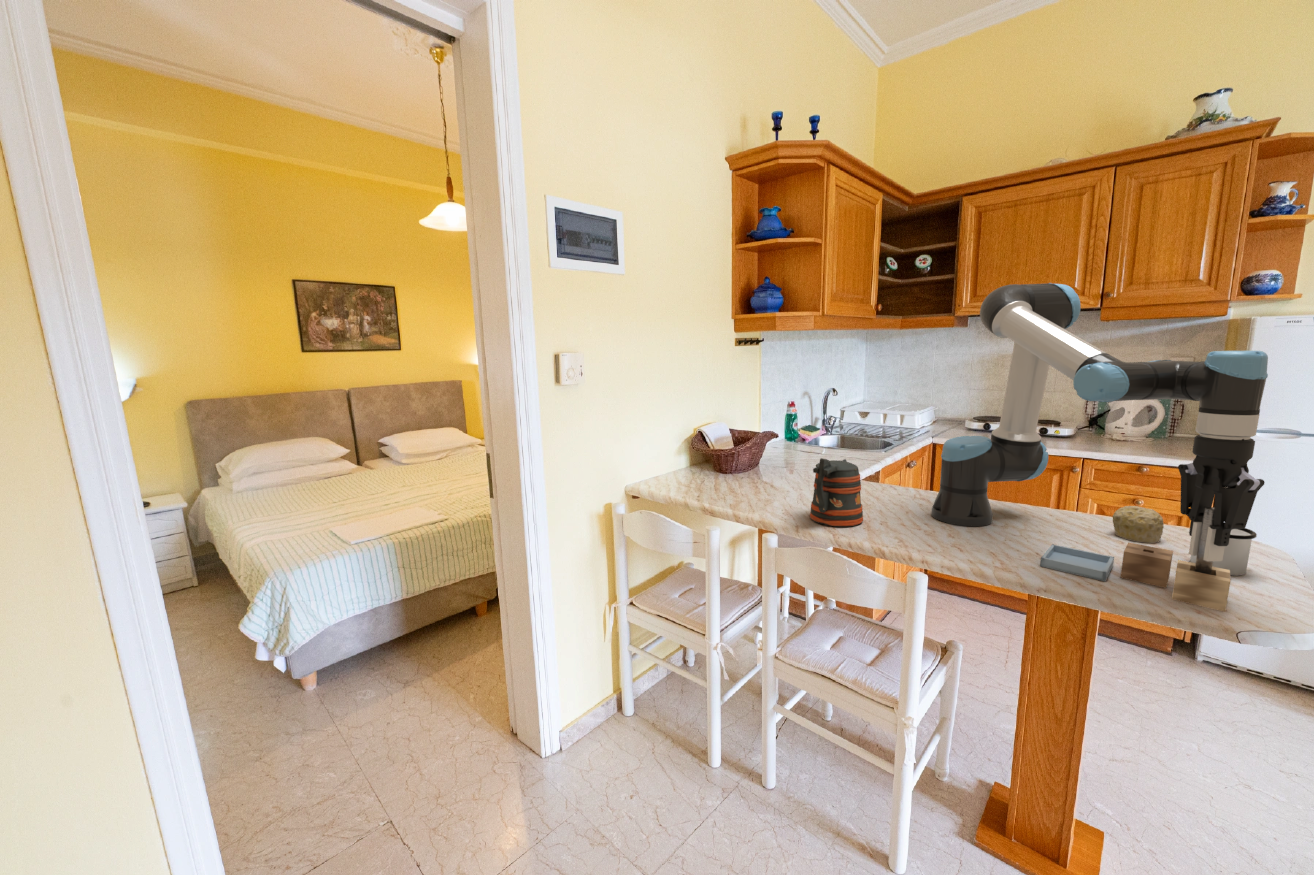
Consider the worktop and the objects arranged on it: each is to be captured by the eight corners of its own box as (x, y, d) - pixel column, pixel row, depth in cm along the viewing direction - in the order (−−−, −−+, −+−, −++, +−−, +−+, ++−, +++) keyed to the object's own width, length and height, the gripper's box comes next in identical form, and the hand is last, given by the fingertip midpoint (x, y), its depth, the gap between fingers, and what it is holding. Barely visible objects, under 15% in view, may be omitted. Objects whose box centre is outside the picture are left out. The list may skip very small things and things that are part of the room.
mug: (1257, 581, 106) (1264, 539, 104) (1192, 571, 111) (1198, 531, 109) (1236, 560, 115) (1243, 522, 114) (1178, 552, 121) (1183, 515, 119)
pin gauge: (1192, 583, 99) (1204, 508, 96) (1192, 580, 100) (1204, 506, 98) (1209, 587, 97) (1221, 511, 95) (1209, 583, 99) (1221, 508, 96)
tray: (1040, 566, 116) (1040, 557, 115) (1051, 552, 123) (1052, 544, 123) (1105, 581, 107) (1106, 572, 107) (1113, 565, 115) (1114, 557, 115)
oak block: (1171, 599, 100) (1176, 570, 99) (1173, 587, 104) (1178, 559, 103) (1225, 612, 95) (1230, 582, 94) (1224, 599, 99) (1229, 570, 98)
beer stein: (848, 536, 137) (850, 463, 133) (795, 526, 146) (797, 457, 142) (869, 517, 152) (872, 450, 148) (820, 508, 160) (822, 446, 157)
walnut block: (1120, 578, 109) (1123, 551, 108) (1124, 568, 114) (1128, 542, 113) (1166, 588, 104) (1170, 560, 103) (1169, 577, 109) (1173, 550, 108)
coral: (1170, 540, 128) (1175, 511, 126) (1144, 545, 125) (1149, 516, 124) (1128, 528, 136) (1131, 501, 135) (1103, 533, 134) (1106, 505, 133)
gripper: (1295, 443, 86) (1271, 574, 90) (1204, 429, 101) (1186, 542, 105) (1248, 443, 87) (1226, 575, 91) (1164, 430, 102) (1148, 543, 106)
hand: (1205, 557), depth 98 cm, fingers closed on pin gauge, 2 cm apart
